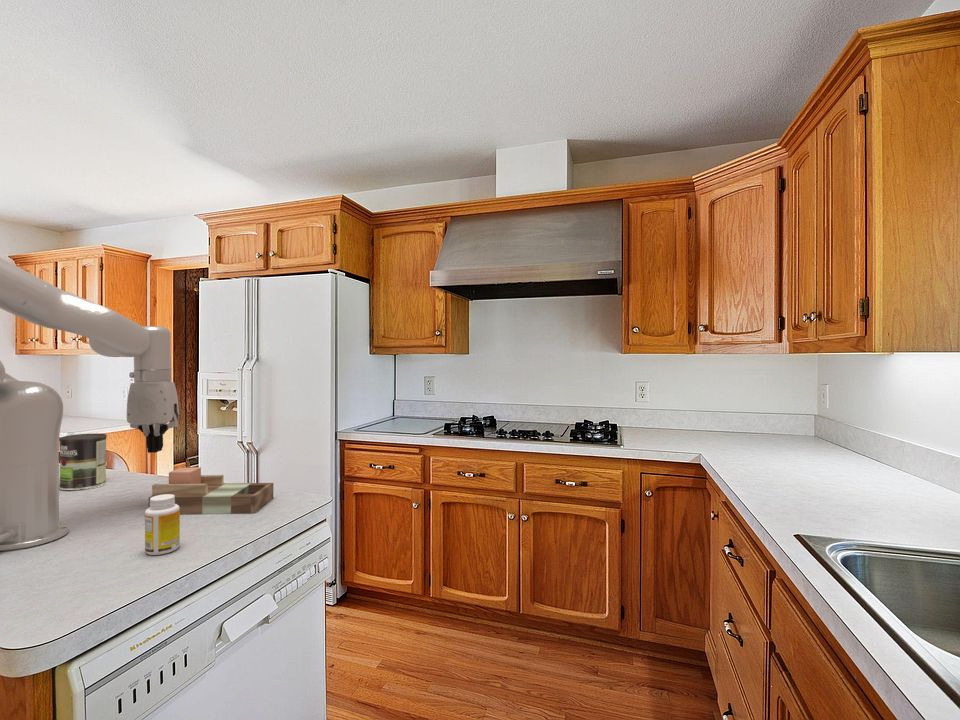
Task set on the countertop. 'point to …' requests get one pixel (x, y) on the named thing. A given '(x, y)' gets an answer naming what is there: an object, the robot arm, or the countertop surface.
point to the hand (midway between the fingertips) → (155, 451)
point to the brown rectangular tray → (217, 496)
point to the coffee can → (82, 461)
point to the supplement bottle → (162, 525)
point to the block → (185, 476)
